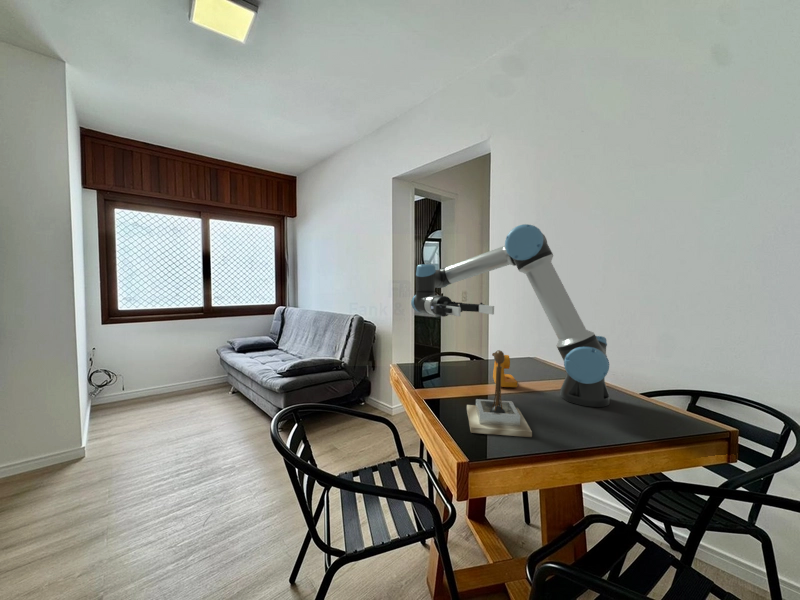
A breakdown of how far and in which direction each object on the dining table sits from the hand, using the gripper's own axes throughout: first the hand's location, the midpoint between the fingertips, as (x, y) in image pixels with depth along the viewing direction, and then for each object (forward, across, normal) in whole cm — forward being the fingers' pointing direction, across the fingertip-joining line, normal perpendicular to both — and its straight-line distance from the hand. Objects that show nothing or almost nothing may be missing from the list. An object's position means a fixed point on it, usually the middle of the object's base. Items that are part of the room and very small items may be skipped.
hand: (477, 311), depth 102 cm
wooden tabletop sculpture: (+10, 0, -31) cm, 32 cm away
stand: (+10, 0, -32) cm, 33 cm away
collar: (+10, 0, -30) cm, 32 cm away
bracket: (-15, -28, -32) cm, 45 cm away
